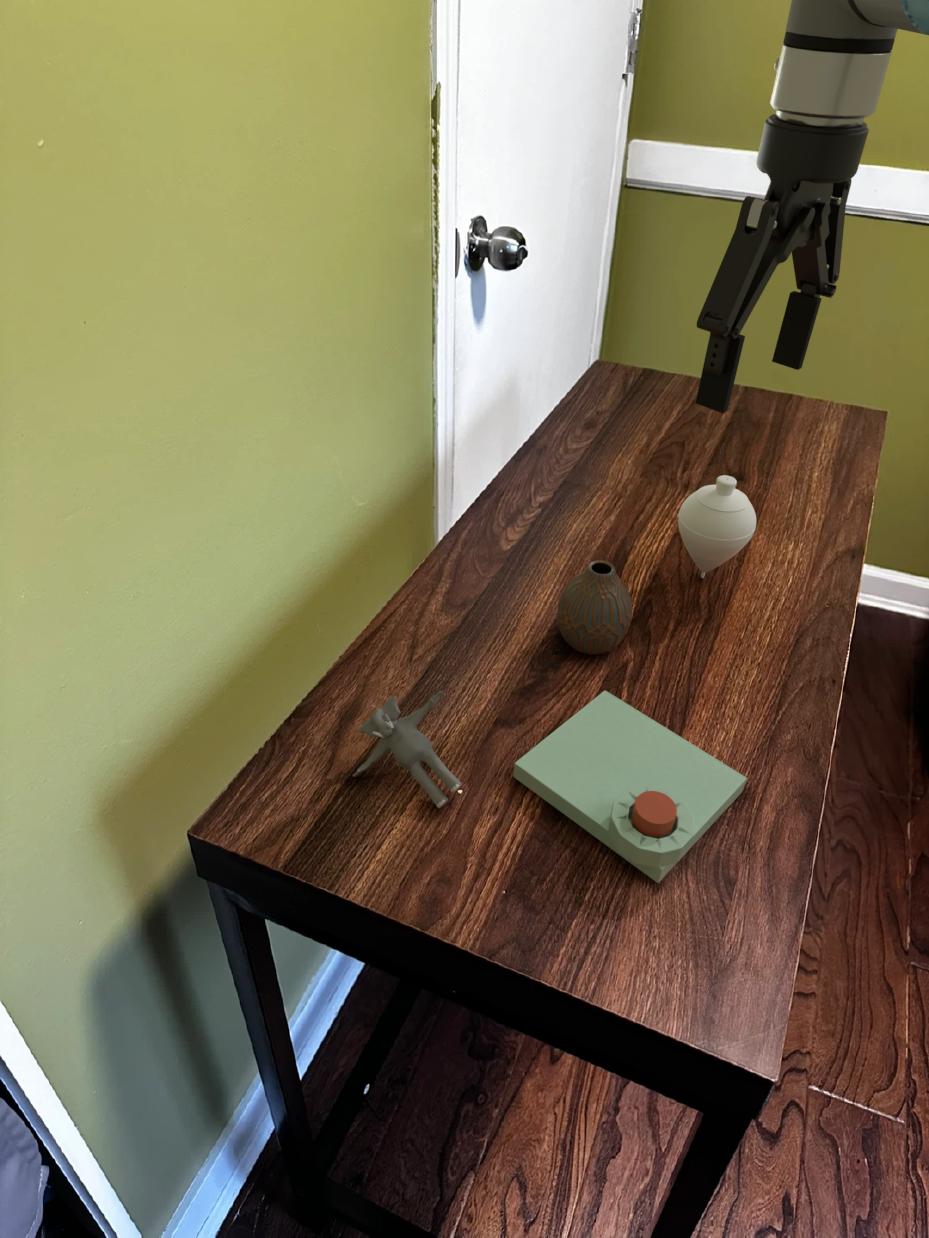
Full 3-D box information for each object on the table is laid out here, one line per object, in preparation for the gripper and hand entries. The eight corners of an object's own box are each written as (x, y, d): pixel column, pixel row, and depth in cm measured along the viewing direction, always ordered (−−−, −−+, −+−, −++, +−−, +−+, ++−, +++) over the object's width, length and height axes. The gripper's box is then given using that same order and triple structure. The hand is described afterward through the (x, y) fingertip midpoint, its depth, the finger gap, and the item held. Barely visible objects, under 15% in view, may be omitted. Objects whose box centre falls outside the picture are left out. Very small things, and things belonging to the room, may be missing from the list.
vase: (543, 651, 81) (552, 577, 76) (568, 611, 86) (577, 538, 81) (613, 674, 79) (627, 599, 74) (634, 631, 84) (649, 557, 78)
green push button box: (747, 794, 68) (758, 765, 66) (655, 895, 61) (664, 866, 59) (602, 703, 76) (607, 674, 74) (505, 783, 69) (507, 753, 66)
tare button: (681, 820, 62) (685, 807, 61) (657, 844, 61) (661, 831, 60) (646, 797, 64) (650, 783, 63) (623, 820, 62) (626, 806, 61)
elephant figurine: (392, 845, 64) (319, 754, 66) (418, 836, 70) (350, 753, 72) (488, 754, 63) (410, 665, 65) (506, 753, 68) (434, 671, 71)
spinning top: (682, 549, 95) (704, 452, 88) (748, 572, 92) (777, 474, 85) (654, 582, 90) (675, 483, 83) (724, 609, 87) (752, 508, 80)
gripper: (844, 95, 73) (779, 338, 87) (685, 127, 59) (637, 412, 72) (932, 107, 69) (850, 360, 83) (784, 144, 55) (714, 443, 69)
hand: (750, 385), depth 78 cm, fingers open, 13 cm apart
